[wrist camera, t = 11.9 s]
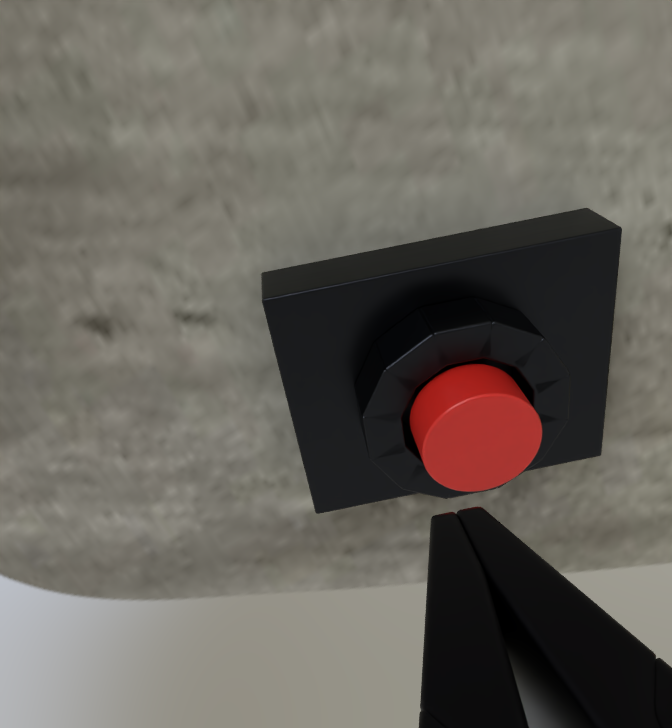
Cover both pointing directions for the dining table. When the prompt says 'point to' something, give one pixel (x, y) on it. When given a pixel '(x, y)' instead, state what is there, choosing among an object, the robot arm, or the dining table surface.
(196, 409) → the dining table surface
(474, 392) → the button
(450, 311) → the button box
